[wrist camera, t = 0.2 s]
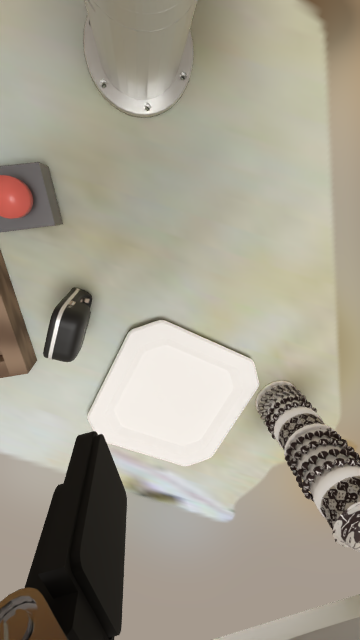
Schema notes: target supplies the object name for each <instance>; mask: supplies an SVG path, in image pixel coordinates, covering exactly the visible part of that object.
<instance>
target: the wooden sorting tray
mask: <svg viewBox="0 0 360 640" xmlns="http://www.w3.org/2000/svg"><path fill="white" fill-rule="evenodd" d="M36 361H37V359H36V356H35V353H34V350H33V347H32V344H31V341H30V338H29V335H28V332H27V329H26V326H25V323H24V320H23V317H22V314H21V311H20V308H19V305H18V302H17V299H16V296H15V293H14V290H13V287H12V284H11V281H10V278H9V275H8V272H7V269H6V266H5V262H4V259H3V256H2V253H1V250H0V378H3V377H9V376H15V375H21V374H27V373H29V371H30V370H31V368H32V367H33V366H34V364H35V363H36Z"/></svg>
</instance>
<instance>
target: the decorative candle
mask: <svg viewBox="0 0 360 640" xmlns="http://www.w3.org/2000/svg"><path fill="white" fill-rule="evenodd" d="M256 409H257V411H258V413H259V414H260V415H261V419H265V422H264V424H265V425H266V426H267V427H268V431H269V432H270V433H272V438H273V439H276V440H277V442H278V443H279V445H280V446H281V447H282V448H283V449H284V455H285V460H286V461H287V464H288V465H289V466H290V469H291V470H292V471H293V474H294V475H295V476H297V477H296V481H297V482H298V483H299V487H300V488H302V492H303V493H304V494H305V497H306V498H307V499H311V500H312V501H314V502H315V504H316V506H317V508H318V510H319V511H320V513H321V514H322V516H323V517H325V518H326V519H327V522H328V523H329V525H330V527H331V528H332V529H333V536H334V539H335V541H336V542H337V543H339V544H340V545H342V546H344V547H351V548H353V549H354V550H356V551H358V552H360V457H359V455H358V453H356V452H354V449H353V448H352V447H350V446H348V445H347V441H346V440H344V439H341V436H340V435H339V434H337V432H336V431H334V430H333V429H332V428H331V427H329V426H328V425H325V424H324V423H323V421H322V419H321V418H320V416H319V415H318V414H317V413H316V412H317V410H316V408H312V405H311V403H310V402H307V400H306V397H305V396H304V395H302V393H301V392H300V391H299V390H297V388H296V387H295V386H294V385H293V384H291V383H290V382H286V381H275V382H272V383H270V384H268V385H266V386H265V387H264V388H263V389H262V390H261V391H260V392H259V394H258V396H257V398H256ZM358 460H359V461H358ZM296 469H297V470H296ZM302 479H303V480H304V481H303V482H302ZM308 491H310V492H311V494H310V493H309V492H308Z"/></svg>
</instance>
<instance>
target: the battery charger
mask: <svg viewBox="0 0 360 640" xmlns="http://www.w3.org/2000/svg"><path fill="white" fill-rule="evenodd" d="M91 302H92V296H91V295H90V294H89V293H88V292H86V291H83V290H80V289H78V288H77V289H76V288H73V289H72V290H71V291H70V292H69V293H68V294H67V295H66V296H65V297H64V298H63V299H62V300H61V302H60V303H59V304H58V305H57V306H56V308H55V309H54V311H53V314H52V316H51V320H50V324H49V328H48V333H47V337H46V342H45V347H44V352H43V355H44V357H46V358H48V359H51V360H53V359H54V360H59V361H63V362H71V361H72V360H74V359H75V358H76V356H77V355H78V353H79V351H80V349H81V347H82V344H83V341H84V337H85V333H86V329H87V326H88V322H89V318H90V313H91V312H90V306H91Z"/></svg>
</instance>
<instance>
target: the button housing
mask: <svg viewBox="0 0 360 640" xmlns="http://www.w3.org/2000/svg"><path fill="white" fill-rule="evenodd" d="M0 175H7V176H11V177H14V178H17V179H19V180H21V181H22V182H24V183H25V184H26V185H27V186H28V188H29V189H30V191H31V193H32V196H33V206H32V209H31V211H30V212H29V213H28V214H27V215H26V216H24V217H22V218H12V219H10V218H4V217H1V216H0V232H7V231H14V230H22V229H30V228H38V227H45V226H53V225H60V224H63V223H62V219H61V215H60V211H59V207H58V203H57V199H56V195H55V191H54V187H53V183H52V179H51V175H50V171H49V167H48V166H46V165H44V164H42V163H40V162H35V163H26V164H17V165H8V166H0Z"/></svg>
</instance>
